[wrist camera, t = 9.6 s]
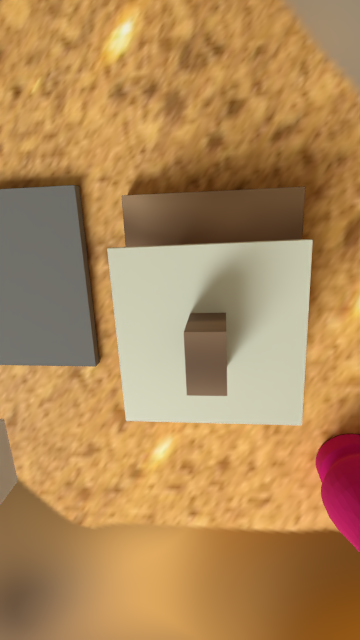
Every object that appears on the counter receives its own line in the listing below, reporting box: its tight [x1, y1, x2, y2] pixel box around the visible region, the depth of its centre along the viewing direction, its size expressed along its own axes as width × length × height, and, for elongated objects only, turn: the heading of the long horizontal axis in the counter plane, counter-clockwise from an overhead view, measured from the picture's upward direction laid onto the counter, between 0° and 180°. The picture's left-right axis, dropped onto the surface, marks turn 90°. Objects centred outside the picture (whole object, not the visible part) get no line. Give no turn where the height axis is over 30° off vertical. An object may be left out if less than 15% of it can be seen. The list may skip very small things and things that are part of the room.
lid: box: [107, 239, 313, 425], centre depth 22 cm, size 13×13×5 cm
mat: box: [0, 185, 99, 366], centre depth 32 cm, size 16×16×1 cm
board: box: [122, 187, 305, 247], centre depth 30 cm, size 20×14×2 cm
